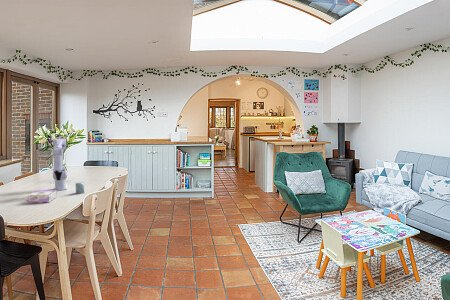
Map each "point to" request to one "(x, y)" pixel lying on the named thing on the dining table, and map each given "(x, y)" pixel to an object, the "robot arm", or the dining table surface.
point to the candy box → (42, 196)
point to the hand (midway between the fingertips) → (58, 180)
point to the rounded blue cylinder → (79, 188)
